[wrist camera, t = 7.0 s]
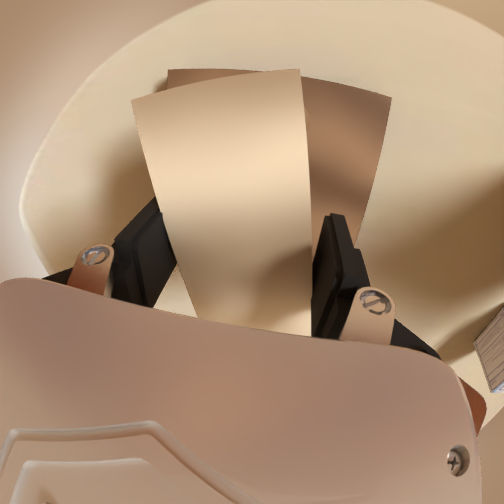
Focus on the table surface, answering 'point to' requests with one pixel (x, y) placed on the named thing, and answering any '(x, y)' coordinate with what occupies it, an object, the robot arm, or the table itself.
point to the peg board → (329, 143)
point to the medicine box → (492, 353)
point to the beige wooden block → (235, 195)
